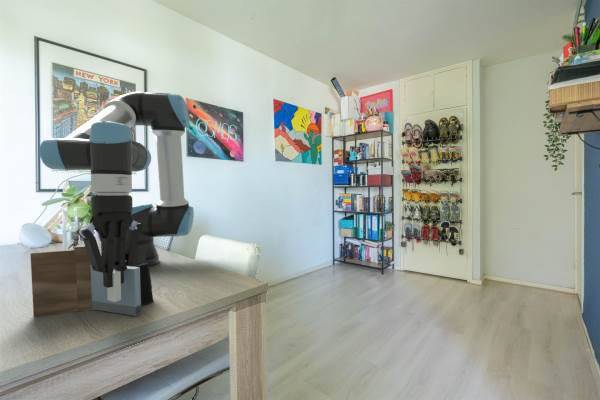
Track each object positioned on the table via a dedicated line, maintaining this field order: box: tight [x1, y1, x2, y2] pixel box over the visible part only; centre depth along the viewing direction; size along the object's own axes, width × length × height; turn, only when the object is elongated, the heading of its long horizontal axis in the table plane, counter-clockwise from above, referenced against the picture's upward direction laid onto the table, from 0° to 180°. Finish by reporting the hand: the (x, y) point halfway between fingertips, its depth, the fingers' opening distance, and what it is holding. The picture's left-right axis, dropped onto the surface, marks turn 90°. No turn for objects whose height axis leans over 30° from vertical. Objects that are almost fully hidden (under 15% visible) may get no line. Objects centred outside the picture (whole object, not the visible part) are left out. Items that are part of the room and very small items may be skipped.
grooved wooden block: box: [30, 243, 93, 318], centre depth 68 cm, size 3×12×16 cm, turn 113°
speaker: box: [135, 263, 154, 308], centre depth 73 cm, size 8×6×10 cm
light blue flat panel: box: [90, 265, 142, 317], centre depth 67 cm, size 13×2×11 cm, turn 74°
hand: (114, 299), depth 62 cm, fingers closed
